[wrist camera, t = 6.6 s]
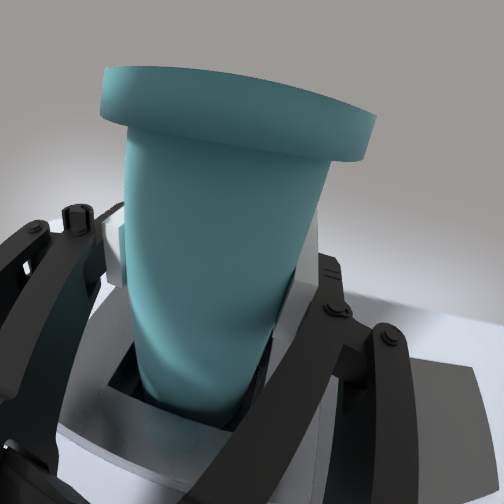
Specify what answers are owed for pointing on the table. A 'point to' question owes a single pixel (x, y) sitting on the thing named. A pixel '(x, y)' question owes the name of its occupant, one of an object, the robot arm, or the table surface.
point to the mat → (452, 435)
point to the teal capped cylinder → (217, 219)
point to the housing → (157, 412)
